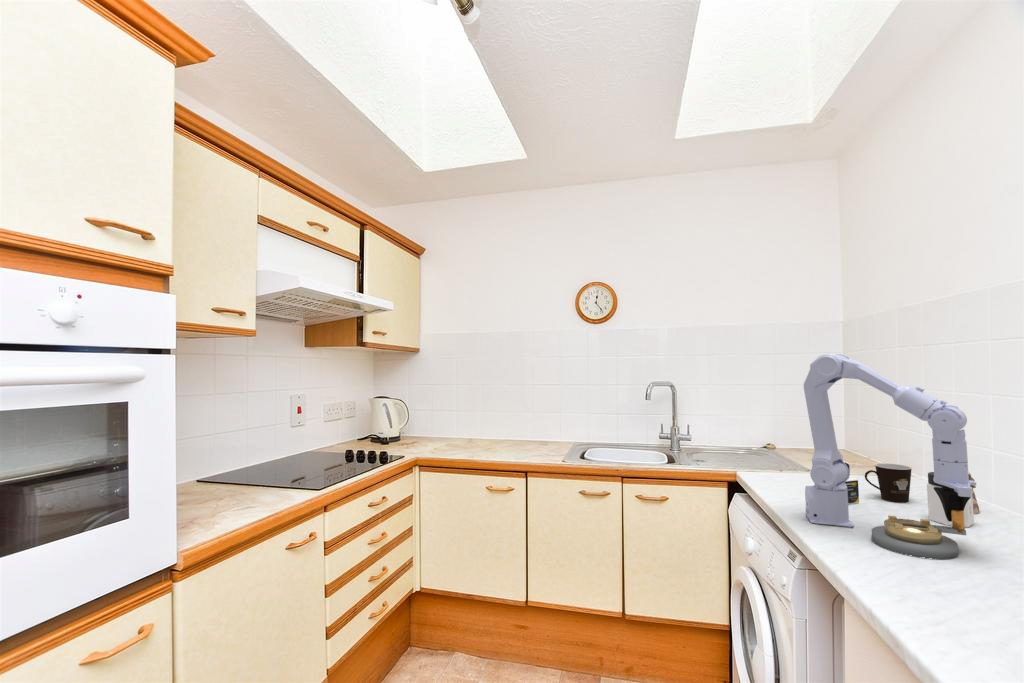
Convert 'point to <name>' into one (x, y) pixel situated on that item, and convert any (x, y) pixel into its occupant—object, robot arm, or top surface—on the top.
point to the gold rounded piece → (923, 529)
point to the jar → (937, 509)
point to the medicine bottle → (852, 488)
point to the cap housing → (915, 546)
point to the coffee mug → (893, 482)
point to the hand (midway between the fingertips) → (954, 521)
